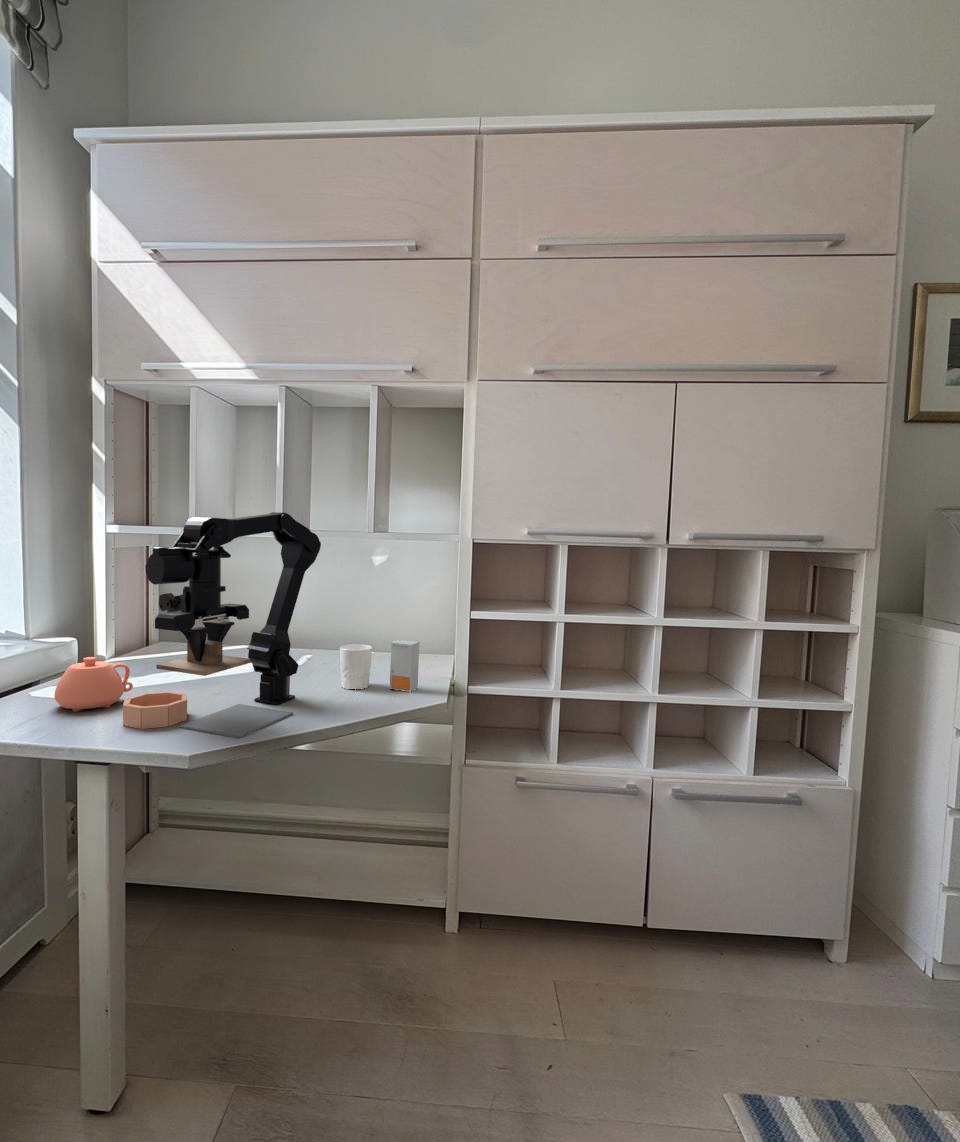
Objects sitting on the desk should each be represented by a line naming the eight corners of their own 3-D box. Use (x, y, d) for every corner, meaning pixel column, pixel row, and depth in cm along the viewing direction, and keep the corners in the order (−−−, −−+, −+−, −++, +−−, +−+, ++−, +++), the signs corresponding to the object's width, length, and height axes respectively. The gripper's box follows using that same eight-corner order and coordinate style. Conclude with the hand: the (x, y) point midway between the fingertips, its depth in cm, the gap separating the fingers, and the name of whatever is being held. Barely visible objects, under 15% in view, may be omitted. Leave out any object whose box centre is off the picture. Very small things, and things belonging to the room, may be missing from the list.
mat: (238, 705, 128) (238, 703, 128) (293, 714, 123) (293, 712, 123) (179, 727, 113) (179, 725, 112) (239, 738, 108) (239, 736, 108)
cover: (205, 656, 125) (205, 634, 124) (250, 662, 121) (250, 639, 120) (156, 668, 113) (156, 644, 113) (204, 675, 109) (204, 650, 109)
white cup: (373, 683, 151) (374, 644, 150) (368, 691, 143) (369, 650, 143) (342, 682, 151) (343, 643, 150) (335, 690, 143) (336, 649, 142)
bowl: (157, 708, 124) (158, 689, 124) (199, 715, 120) (199, 695, 120) (110, 723, 113) (110, 702, 113) (154, 731, 110) (154, 710, 110)
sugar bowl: (51, 702, 125) (51, 655, 124) (127, 693, 134) (127, 649, 133) (57, 718, 116) (57, 666, 115) (138, 706, 125) (138, 659, 124)
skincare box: (388, 690, 145) (390, 642, 144) (396, 686, 149) (397, 639, 148) (411, 693, 143) (413, 644, 142) (418, 688, 147) (420, 641, 146)
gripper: (209, 575, 127) (209, 646, 128) (132, 582, 110) (133, 664, 111) (251, 578, 123) (250, 652, 125) (177, 586, 106) (178, 671, 107)
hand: (205, 659), depth 117 cm, fingers closed on cover, 3 cm apart
